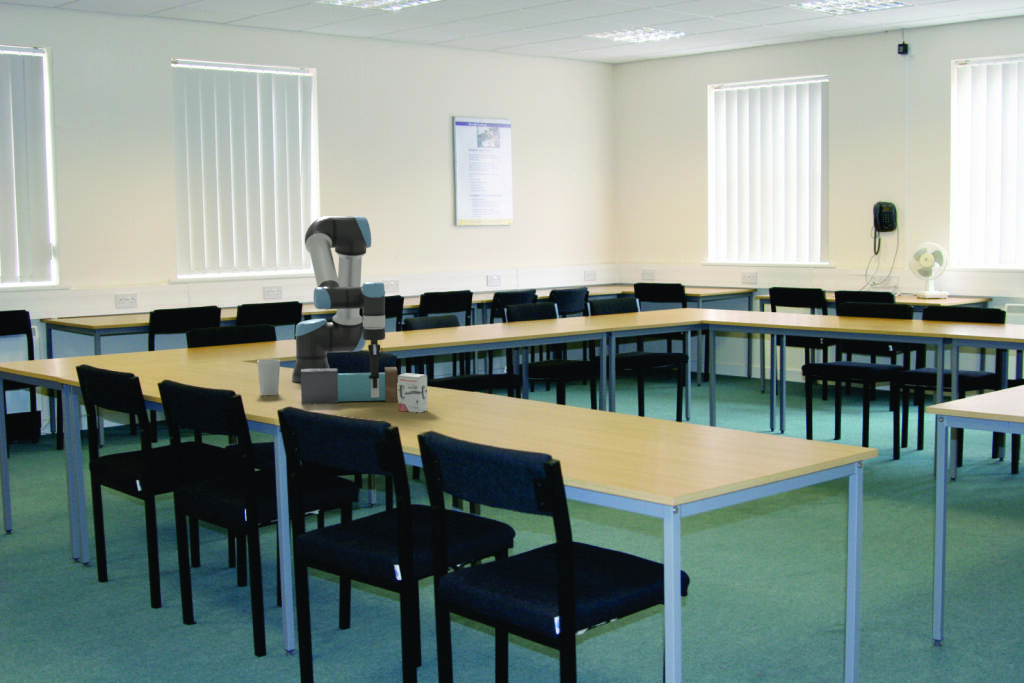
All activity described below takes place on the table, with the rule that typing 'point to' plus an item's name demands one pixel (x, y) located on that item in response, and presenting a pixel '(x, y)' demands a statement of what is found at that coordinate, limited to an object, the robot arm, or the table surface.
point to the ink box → (412, 392)
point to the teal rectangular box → (359, 387)
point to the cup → (269, 376)
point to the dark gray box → (319, 386)
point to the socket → (391, 384)
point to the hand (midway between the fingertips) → (374, 396)
